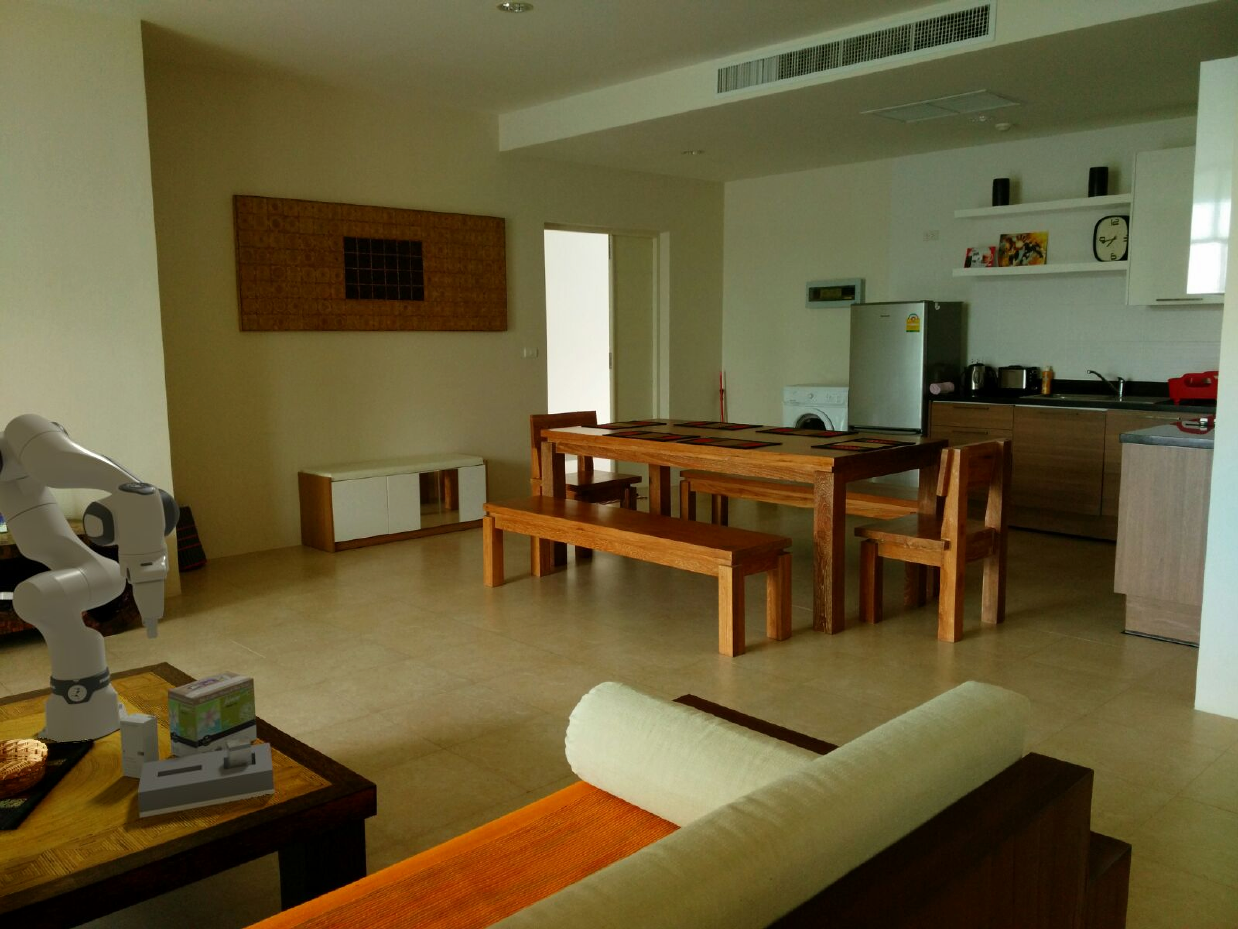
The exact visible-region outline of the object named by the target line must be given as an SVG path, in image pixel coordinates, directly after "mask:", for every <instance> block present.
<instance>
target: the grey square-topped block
mask: <svg viewBox="0 0 1238 929" xmlns="http://www.w3.org/2000/svg"><path fill="white" fill-rule="evenodd" d="M251 746H252V742H250V741H249V739H248V737H247V736H246V737H241V738H237V739H232V740H227V741H226V748H227V762H228V769H231V768H237V767H243V766H249V765H252V756H251Z"/></svg>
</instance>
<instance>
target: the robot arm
mask: <svg viewBox="0 0 1238 929" xmlns="http://www.w3.org/2000/svg"><path fill="white" fill-rule="evenodd" d="M49 488H50V489H57V490H59V489H60V490H62V489H63V490H65V489H66V490H67V489H84V490H85V489H86V490H89V489H91V490H99V491H104V492H106V493H109V494H110V495H108V496H105V497H103V498H99V499H97V500H95V501H91V502H90V503H89V504H88V506H87V507H86V508H85V510H84V513H83V515H82V528H83V532H84V534H85V537H87V538H88V540H89V541H91V542H92V543H94V544H96V545H97V546H107V547H109V546H115V545H117V546H118V554H117V555H118V562H117V561H116V560H113V559H111V558H109V557H105V556H103V555H101V554H99V553H98V552H95V551H94V550H93V549H91V548H90V547H89V546H88V545H87V544H85V543H84V542H83V540H81V539H80V538H79V537H78V536H77V534H76V533H75V532H74V530H73V528H72V527H71V525H70V524H69V522H68V520H67V519H66V517H65V515H64V513H63V511H62V510H61V507H60V505H59V504H58V502H57V500H56V498H55V496H54V495H53V493H52V492H51V490H50V489H49ZM180 511H181V510H180V507H179V504H178V503H177V501H176V499H175V498H174V497H173V496H172V495H171V494H170V493H168V492H167V491H166V490H164V489H161V488H158V487H157V486H156V485H154V484H151V483H148V482H146V481H145V480H143V479H142V478H140V477H139V476H137V475H136V474H135V473H133V472H132V471H130V470H129V469H127V468H126V467H125V466H123V465H122V464H121V463H119V462H118V461H116V460H114V459H112V458H111V457H108V456H106V455H104V454H102V453H98V452H96V451H94V450H92V449H90V448H87V447H86V446H84V445H82V444H80V443H79V442H78V441H76V440H75V439H73V438H71V436H70V435H69V433H68V431H67V430H66V429H65V427H64V426H62V425H61V424H59V423H58V422H57V421H56V422H55V421H50V420H49V419H47V418H45V417H43V416H41V415H38V414H35V413H34V414H33V413H26V414H25V413H24V414H21V415H18V416H15V417H14V418H13V419H11V420H9V422H8V423H7V425H6V427H5V428H4V430H2V431H0V514H1V517H2V519H3V521H4V523H5V525H6V527H7V529H8V531H9V533H10V536H12V539H13V541H14V542H15V544H16V546H17V548H18V551H19V553H20V554H22V556H24V557H25V558H27V559H29V560H32V561H36V562H38V563H42V564H43V565H45V566H46V567H48V569H50V570H47V571H44V572H40V573H37V574H35V575H32V576H31V577H28V578H27V579H25V580H24V581H21V582H20V583H18V584H17V586H16V587H15V589H14V591H13V594H12V606H13V609H14V611H15V613H16V614H17V616H18V617H19V618H20V619H21V620H23V621H24V622H26V623H28V624H30V625H32V626H34V627H35V628H36V629H37V630H38V631H39V632H40V633H41V635H42V636H43V638H44V640H45V643H46V646H47V649H48V655H49V661H50V662H49V663H50V664H49V665H50V670H51V675H50V677H49V687H50V692H51V694H50V696H49V697H48V698H47V699H46V700H45V701H44V716H45V726H44V727H43V728H42V729H41V730H40V731H39V732H38V733H37V734H38V735H37V736H38V739H40V737H41V738H42V739H41V740H45V739H44V738H47V739H46V740H49V739H52V740H54V741H57V742H56V743H60V741H61V742H62V741H63V742H65V741H78V740H85V739H92V740H95V739H99V738H101V737H105V736H106V735H110V734H112V733H114V732H115V731H117V730H119V729H120V720H122V719H123V718H125V717H127V716H129V715H128V711H127V709H126V706H125V704H124V703H123V702H122V701H121V702H120V701H119V696H118V691H116V689H115V688H114V686H113V685H112V684H111V672H110V668H109V666H107V657H106V647H105V639H104V636H103V635H102V633H101V632H99V631H98V630H96V629H94V628H92V627H89V626H86V624H85V622H84V620H83V615H82V614H83V612H86V611H88V610H92V609H95V608H98V607H101V606H104V605H107V604H108V603H109V602H111V601H113V600H115V599H116V598H117V597H119V596H121V595H122V593H123V592H124V591H125V588H126V582H127V583H128V584H131V585H132V595H133V598H134V602H135V604H136V606H137V610H138V611H139V614H140V616H141V624H142V626H143V627H145V629H146V636H147V638H148V639H151V640H152V639H155V638H158V636H159V634H158V624H159V620H160V619H163V616H164V611H165V607H164V606H165V580H166V579H168V572H169V570H170V567H169V566H170V565H169V553H168V552H169V551H168V545H167V542H166V539H165V538H166V537H167V536H169V535H170V534H171V533H172V532H173V530H175V528H176V526H177V525H178V522H179V520H180V515H181V514H180V513H181V512H180ZM126 579H127V580H126ZM52 740H51V741H52ZM54 741H53V742H54ZM58 741H59V742H58Z"/></svg>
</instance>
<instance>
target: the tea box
mask: <svg viewBox="0 0 1238 929" xmlns="http://www.w3.org/2000/svg"><path fill="white" fill-rule="evenodd" d="M255 698H256V697H255V684H254V678H253V677H249V676H245V675H243V674H238V673H236V672H232V671H229V670H225V671H222V672H219V673H216V674H214V675H210V676H207V677H204V678H201V679H198V680H195V681H192V682H190V683H186V684H183V685H180V686H178V687H174V688H170V689H168V690H167V699H168V702H167V704H168V717H169V718H168V721H169V736H170V740H169V741H170V753H171V754H172V755H174V756H176V757H184V756H190V755H196V754H202V753H209V752H215V751H221V750H227V748H226V741H227V740H232V739H237V738H241V737H246V736H247V737H248V739H249V741H250V743H252V742H254V741H256V740H257V718H256V717H257V714H256V700H255Z"/></svg>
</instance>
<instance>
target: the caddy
mask: <svg viewBox="0 0 1238 929" xmlns="http://www.w3.org/2000/svg"><path fill="white" fill-rule="evenodd" d="M251 756H252V765H249V766H243V767H237V768H231V769H228V762H227V750H221V751H215V752H209V753H202V754H196V755H190V756H184V757H179V756H177V757H173V758H167V759H159V761H153V762H147V763H143V767H142V773H141V778H139V784H138V790H137V798H138V799H137V801H138V809H139V810H138V812H139V818H140V819H142V818H146V817H152V816H153V817H154V816H156V815H157V816H158V815H163V814H169V813H173V812H179V811H185V810H191V809H197V808H202V807H203V808H204V807H208V806H213V805H219V804H225V803H230V801H231V802H236V801H241V799H242V800H247V799H252V798H251V797H253V798H257V797H258V796H259V797H263V795H264V796H266V795H265V794H270V795H275V785H274V783H275V782H274V771H273V770H274V769H273V768H274V767H273V762H272V752H271V744H270V742H266V743H260V744H254V745H253V744H251Z"/></svg>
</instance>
